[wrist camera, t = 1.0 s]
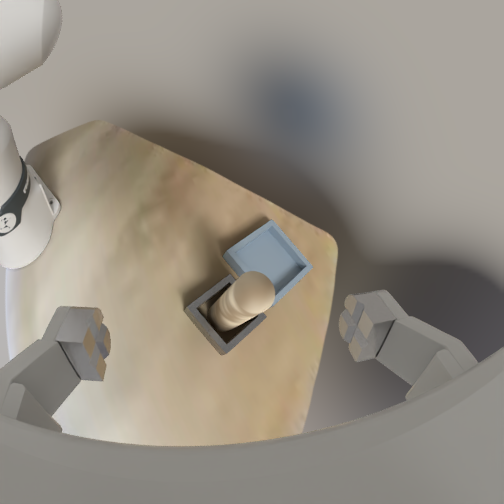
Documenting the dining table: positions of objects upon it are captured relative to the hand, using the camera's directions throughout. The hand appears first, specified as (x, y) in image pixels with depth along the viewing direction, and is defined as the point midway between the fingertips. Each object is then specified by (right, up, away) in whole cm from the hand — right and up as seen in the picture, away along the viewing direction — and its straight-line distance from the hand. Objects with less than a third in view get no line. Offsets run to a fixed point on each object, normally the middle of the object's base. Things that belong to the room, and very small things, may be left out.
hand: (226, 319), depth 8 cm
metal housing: (-4, -8, +35) cm, 36 cm away
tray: (+4, 0, +42) cm, 42 cm away
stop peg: (-4, -8, +35) cm, 36 cm away
